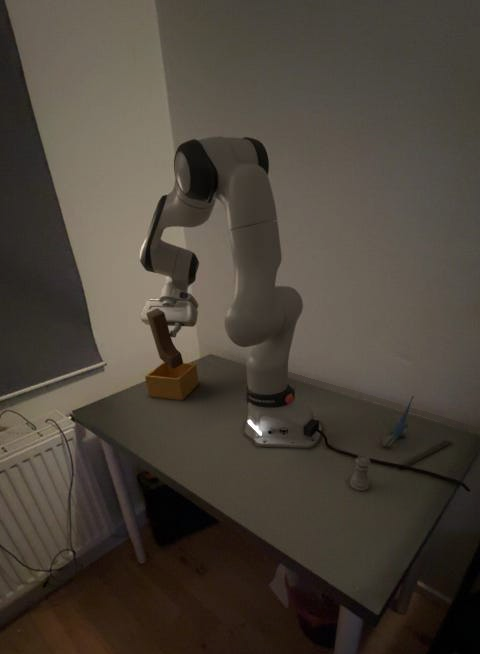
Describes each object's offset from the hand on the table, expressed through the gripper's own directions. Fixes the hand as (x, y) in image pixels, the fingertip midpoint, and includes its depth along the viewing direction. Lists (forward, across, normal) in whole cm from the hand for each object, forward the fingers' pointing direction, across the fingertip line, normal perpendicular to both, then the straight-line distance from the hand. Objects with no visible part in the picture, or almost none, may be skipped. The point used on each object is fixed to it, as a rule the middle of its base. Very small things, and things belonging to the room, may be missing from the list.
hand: (163, 336), depth 118 cm
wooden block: (+6, +1, +7) cm, 9 cm away
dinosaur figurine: (+24, +76, +5) cm, 80 cm away
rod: (+28, +83, +2) cm, 88 cm away
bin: (+14, 0, +15) cm, 21 cm away
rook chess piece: (+39, +68, -10) cm, 79 cm away
